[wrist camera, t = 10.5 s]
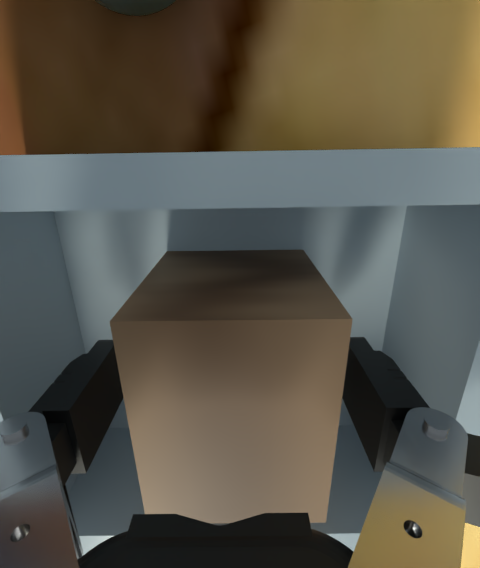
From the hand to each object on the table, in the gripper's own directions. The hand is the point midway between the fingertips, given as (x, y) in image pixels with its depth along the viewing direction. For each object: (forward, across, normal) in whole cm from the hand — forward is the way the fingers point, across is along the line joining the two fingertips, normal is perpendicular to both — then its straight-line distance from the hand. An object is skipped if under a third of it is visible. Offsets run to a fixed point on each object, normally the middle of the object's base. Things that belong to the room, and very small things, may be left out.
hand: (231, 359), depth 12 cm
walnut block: (+3, 0, 0) cm, 3 cm away
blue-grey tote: (+4, 0, 0) cm, 4 cm away
